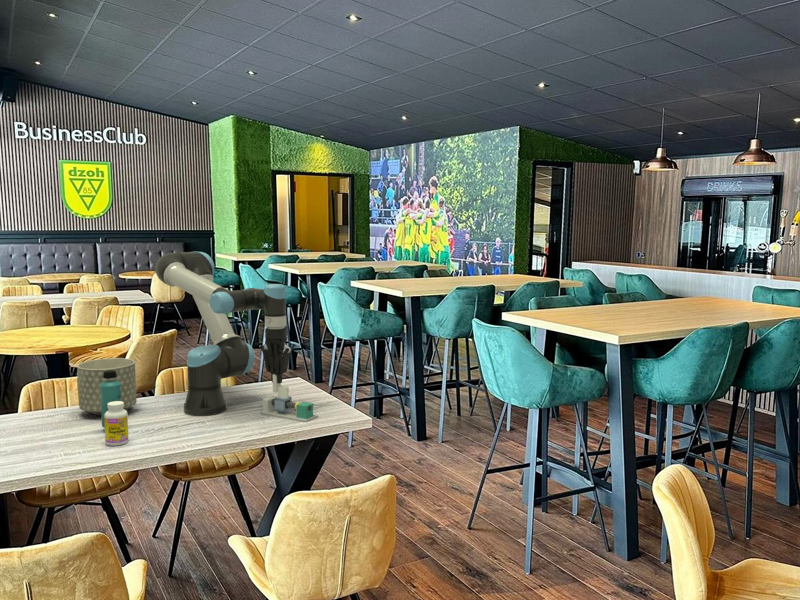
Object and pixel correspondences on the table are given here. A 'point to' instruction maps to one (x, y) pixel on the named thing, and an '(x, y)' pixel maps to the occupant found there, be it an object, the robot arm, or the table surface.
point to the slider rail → (302, 413)
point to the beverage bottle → (109, 392)
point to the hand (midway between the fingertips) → (277, 391)
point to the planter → (93, 378)
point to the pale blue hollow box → (282, 399)
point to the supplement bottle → (116, 424)
